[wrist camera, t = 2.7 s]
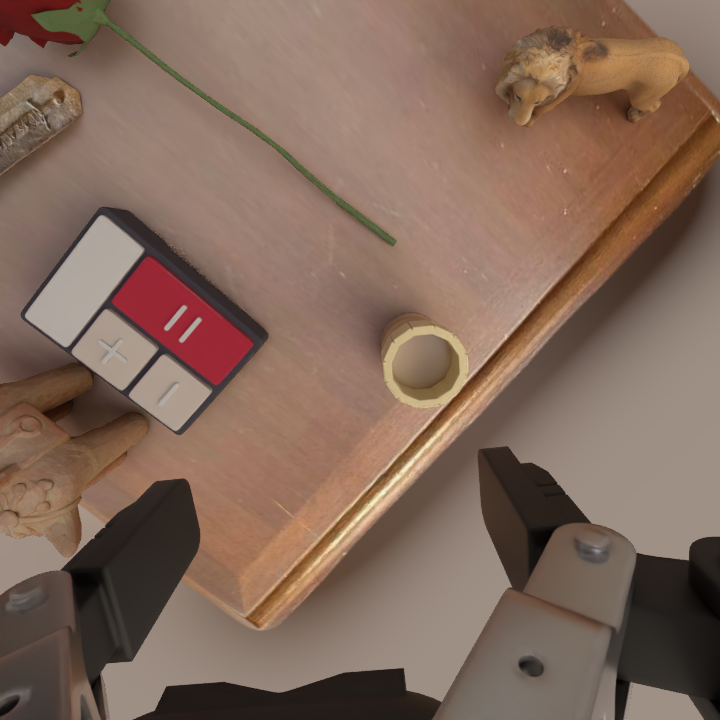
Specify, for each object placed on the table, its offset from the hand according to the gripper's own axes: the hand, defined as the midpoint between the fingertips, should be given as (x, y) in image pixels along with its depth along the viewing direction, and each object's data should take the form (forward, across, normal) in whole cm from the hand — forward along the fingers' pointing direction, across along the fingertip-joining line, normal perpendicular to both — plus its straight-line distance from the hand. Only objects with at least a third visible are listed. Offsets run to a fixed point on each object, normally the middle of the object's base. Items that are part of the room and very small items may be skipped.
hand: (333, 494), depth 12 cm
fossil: (+21, +26, -16) cm, 37 cm away
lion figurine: (+26, -17, -16) cm, 35 cm away
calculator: (+25, +16, -3) cm, 30 cm away
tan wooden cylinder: (+26, -4, +1) cm, 26 cm away
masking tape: (+20, -4, +1) cm, 20 cm away
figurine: (+25, +25, +3) cm, 36 cm away
